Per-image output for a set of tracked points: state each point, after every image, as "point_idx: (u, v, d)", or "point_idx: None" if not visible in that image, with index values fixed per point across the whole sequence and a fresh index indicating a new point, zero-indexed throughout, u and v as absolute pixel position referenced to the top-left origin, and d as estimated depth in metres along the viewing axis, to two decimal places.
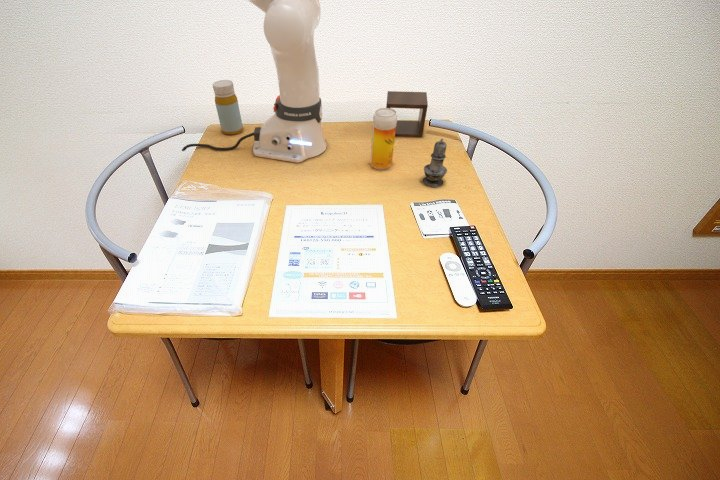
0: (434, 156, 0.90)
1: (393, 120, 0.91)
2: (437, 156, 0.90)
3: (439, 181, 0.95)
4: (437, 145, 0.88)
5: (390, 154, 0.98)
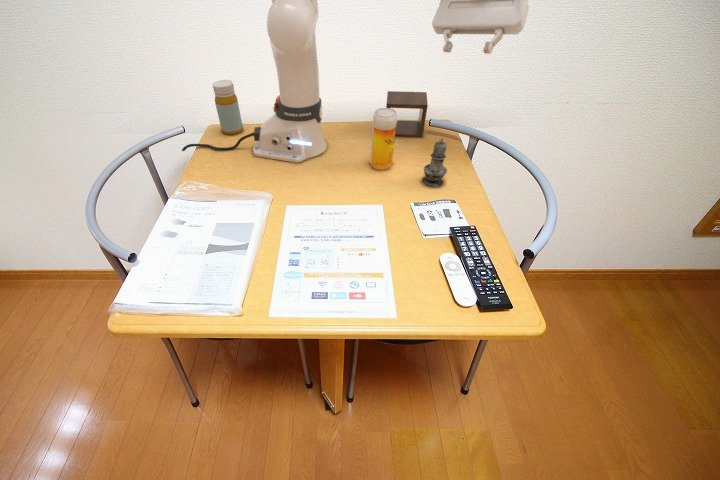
0: (434, 156, 0.90)
1: (393, 120, 0.91)
2: (437, 156, 0.90)
3: (439, 181, 0.95)
4: (437, 145, 0.88)
5: (390, 154, 0.98)
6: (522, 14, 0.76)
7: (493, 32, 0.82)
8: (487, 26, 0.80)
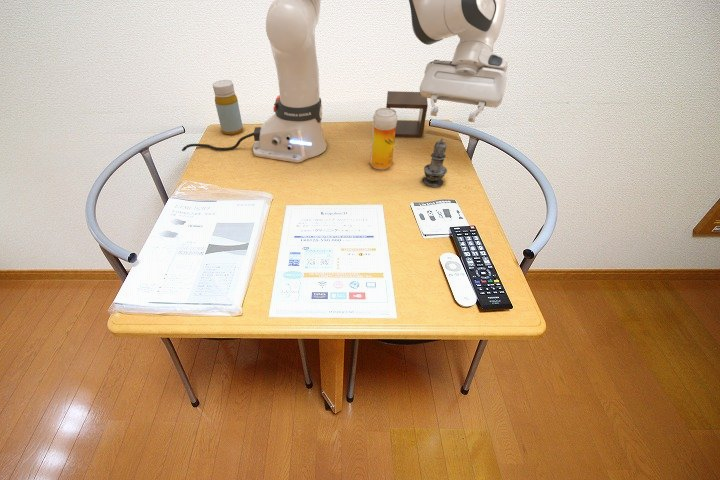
0: (434, 156, 0.90)
1: (393, 120, 0.91)
2: (437, 156, 0.90)
3: (439, 181, 0.95)
4: (437, 145, 0.88)
5: (390, 154, 0.98)
6: (503, 92, 0.86)
7: (475, 103, 0.91)
8: (471, 98, 0.89)
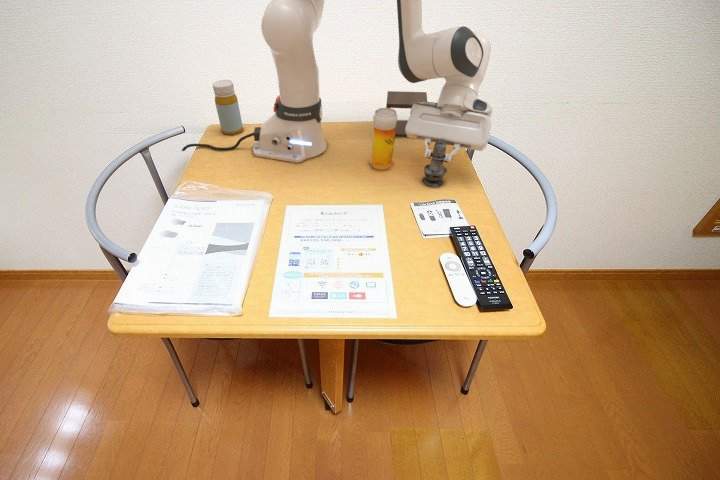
0: (434, 156, 0.90)
1: (393, 120, 0.91)
2: (437, 156, 0.90)
3: (439, 181, 0.95)
4: (437, 145, 0.88)
5: (390, 154, 0.98)
6: (487, 137, 0.85)
7: (460, 145, 0.90)
8: (456, 142, 0.88)
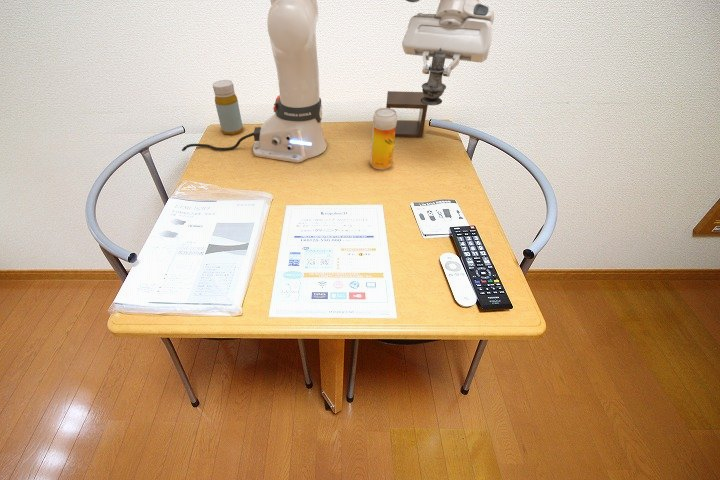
0: (432, 69, 0.86)
1: (393, 120, 0.91)
2: (436, 68, 0.85)
3: (438, 100, 0.91)
4: (435, 55, 0.84)
5: (390, 154, 0.98)
6: (488, 44, 0.81)
7: (460, 58, 0.86)
8: (456, 52, 0.84)
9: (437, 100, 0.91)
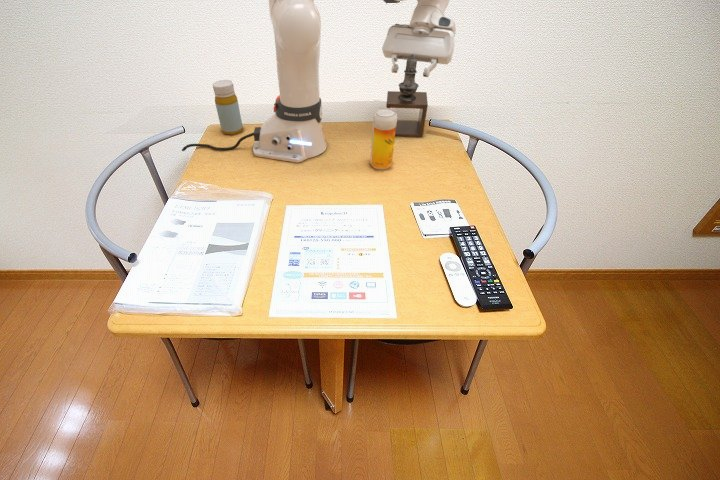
0: (406, 71, 1.05)
1: (393, 120, 0.91)
2: (409, 70, 1.04)
3: (412, 97, 1.10)
4: (409, 60, 1.03)
5: (390, 154, 0.98)
6: (451, 50, 1.00)
7: (429, 61, 1.05)
8: (425, 56, 1.02)
9: (411, 97, 1.10)
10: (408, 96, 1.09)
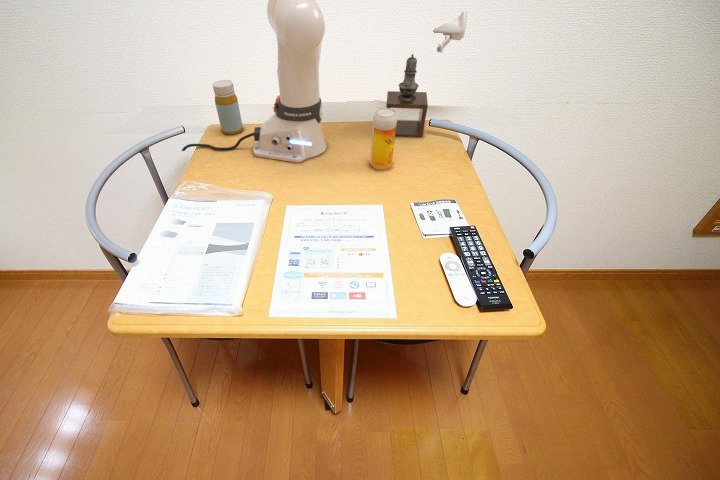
0: (406, 71, 1.05)
1: (393, 120, 0.91)
2: (409, 70, 1.04)
3: (412, 97, 1.10)
4: (409, 60, 1.03)
5: (390, 154, 0.98)
6: (464, 25, 1.05)
7: None
8: (439, 32, 1.08)
9: (411, 97, 1.10)
10: (408, 96, 1.09)
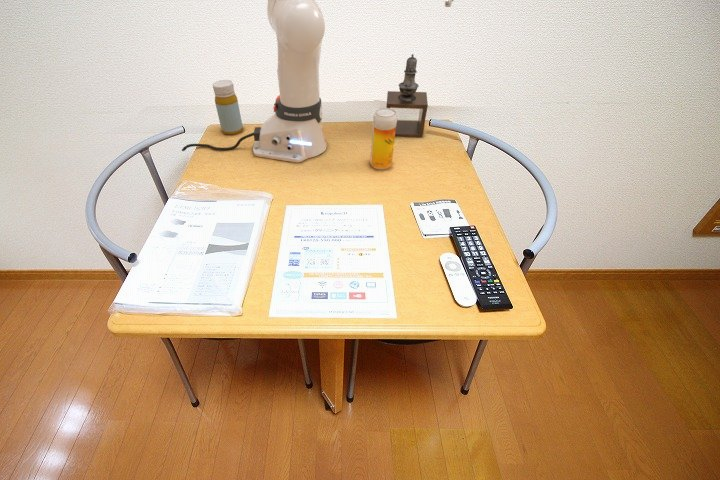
0: (406, 71, 1.05)
1: (393, 120, 0.91)
2: (409, 70, 1.04)
3: (412, 97, 1.10)
4: (409, 60, 1.03)
5: (390, 154, 0.98)
6: None
7: None
8: None
9: (411, 97, 1.10)
10: (408, 96, 1.09)
